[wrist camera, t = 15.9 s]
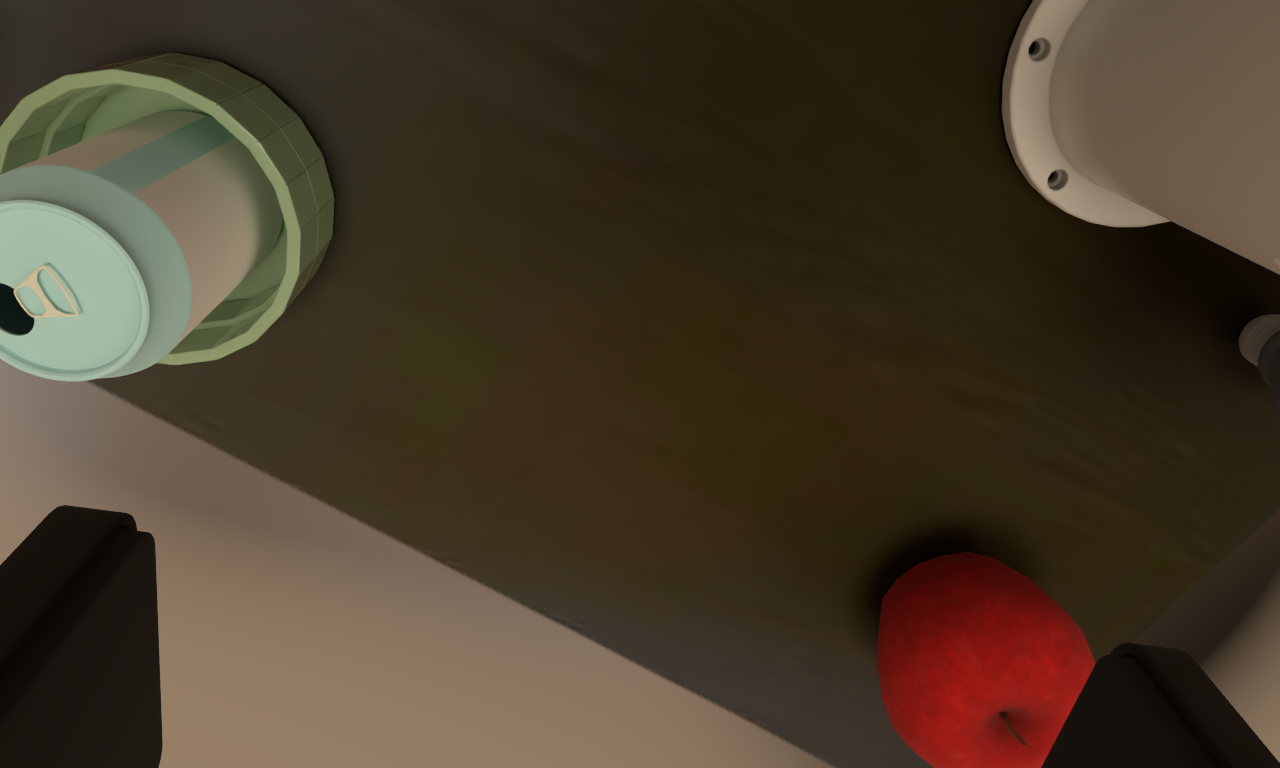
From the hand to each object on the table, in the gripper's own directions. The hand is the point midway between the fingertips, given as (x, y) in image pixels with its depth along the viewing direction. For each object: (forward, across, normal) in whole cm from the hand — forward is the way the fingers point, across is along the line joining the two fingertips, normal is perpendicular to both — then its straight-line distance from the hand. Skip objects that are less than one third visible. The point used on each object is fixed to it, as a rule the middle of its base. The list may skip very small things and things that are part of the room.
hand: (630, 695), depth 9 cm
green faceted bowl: (+32, +16, +6) cm, 37 cm away
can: (+32, +16, +6) cm, 36 cm away
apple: (+32, -22, +21) cm, 45 cm away
